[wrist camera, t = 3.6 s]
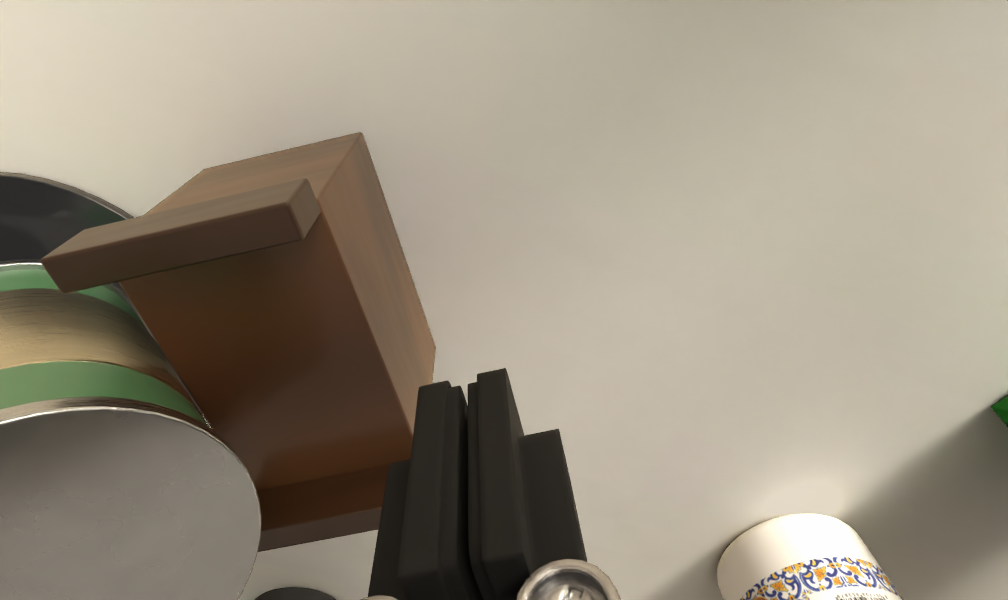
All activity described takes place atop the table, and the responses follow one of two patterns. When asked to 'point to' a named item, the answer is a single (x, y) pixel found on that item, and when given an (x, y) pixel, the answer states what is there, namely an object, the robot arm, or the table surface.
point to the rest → (281, 324)
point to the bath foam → (802, 563)
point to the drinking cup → (294, 594)
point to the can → (109, 458)
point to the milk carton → (1002, 409)
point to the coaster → (48, 217)
